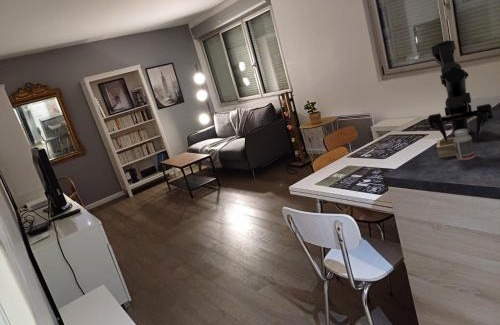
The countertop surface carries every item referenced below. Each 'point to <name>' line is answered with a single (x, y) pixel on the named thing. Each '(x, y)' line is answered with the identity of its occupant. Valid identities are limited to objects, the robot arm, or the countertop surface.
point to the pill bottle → (463, 145)
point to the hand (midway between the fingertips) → (461, 138)
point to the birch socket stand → (446, 148)
